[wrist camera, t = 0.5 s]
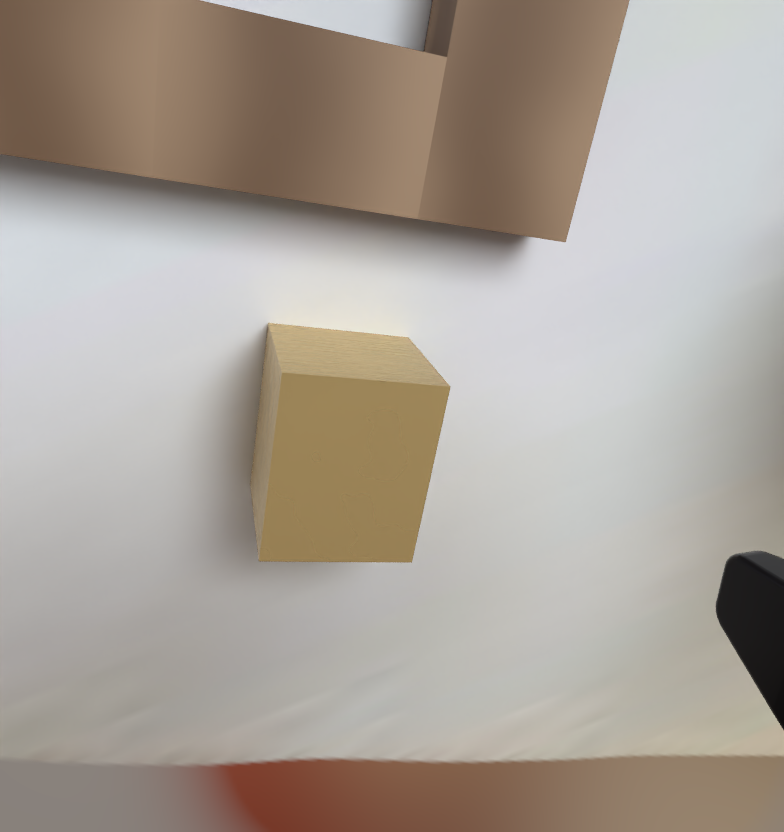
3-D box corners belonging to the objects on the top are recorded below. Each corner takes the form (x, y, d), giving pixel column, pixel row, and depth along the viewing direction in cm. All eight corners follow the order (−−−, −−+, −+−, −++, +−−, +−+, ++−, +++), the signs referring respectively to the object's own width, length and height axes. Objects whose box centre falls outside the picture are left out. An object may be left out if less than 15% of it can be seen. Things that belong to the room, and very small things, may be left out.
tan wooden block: (407, 336, 20) (450, 386, 16) (378, 487, 22) (411, 562, 18) (267, 321, 19) (281, 372, 15) (249, 482, 21) (258, 561, 17)
